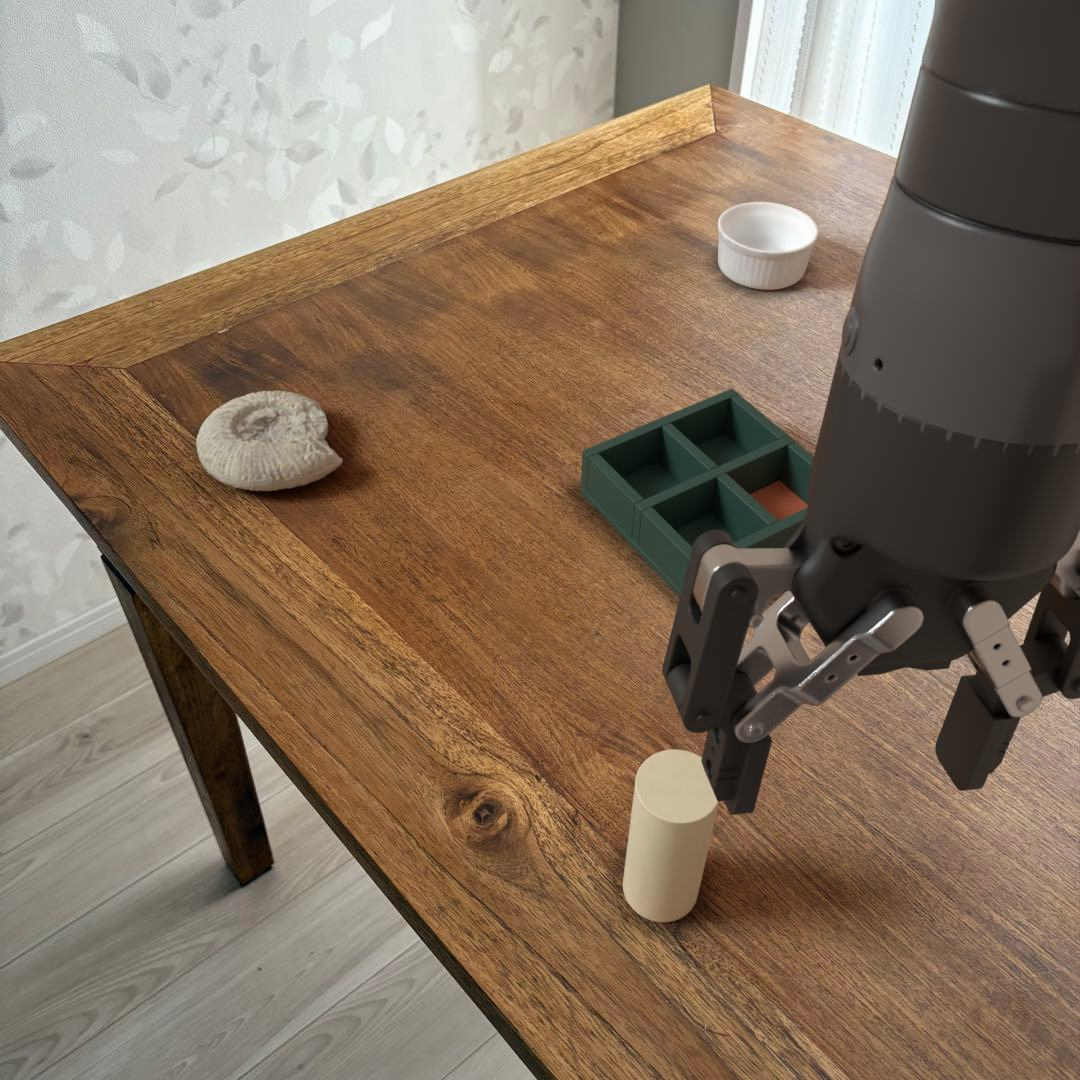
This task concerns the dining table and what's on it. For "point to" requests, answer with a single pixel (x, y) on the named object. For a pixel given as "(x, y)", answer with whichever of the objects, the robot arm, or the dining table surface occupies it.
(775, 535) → the grid
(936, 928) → the dining table surface
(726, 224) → the ramekin
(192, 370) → the dining table surface
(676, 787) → the cylinder
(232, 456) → the fossil
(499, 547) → the dining table surface
